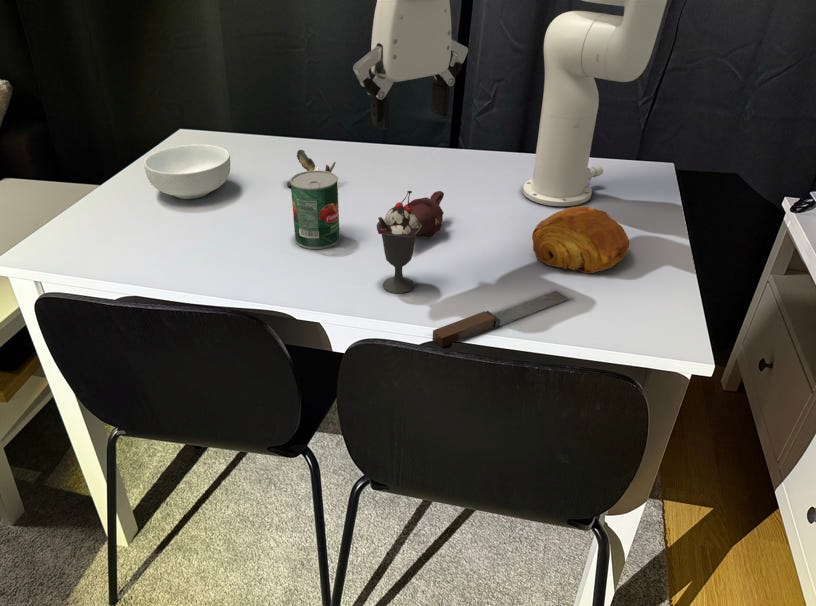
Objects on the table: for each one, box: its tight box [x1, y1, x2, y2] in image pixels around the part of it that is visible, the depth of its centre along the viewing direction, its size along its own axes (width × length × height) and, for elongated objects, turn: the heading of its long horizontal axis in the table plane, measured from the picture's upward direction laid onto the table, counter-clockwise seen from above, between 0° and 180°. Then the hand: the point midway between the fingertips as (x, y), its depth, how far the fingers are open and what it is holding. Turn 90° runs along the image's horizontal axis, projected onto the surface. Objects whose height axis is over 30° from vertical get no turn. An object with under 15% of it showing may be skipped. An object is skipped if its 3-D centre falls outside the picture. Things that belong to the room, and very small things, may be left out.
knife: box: [432, 290, 569, 348], centre depth 101 cm, size 23×3×2 cm, turn 120°
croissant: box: [531, 205, 630, 274], centre depth 114 cm, size 14×16×8 cm
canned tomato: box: [289, 169, 341, 250], centre depth 121 cm, size 8×8×11 cm
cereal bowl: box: [143, 143, 231, 200], centre depth 141 cm, size 17×17×7 cm
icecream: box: [403, 190, 445, 239], centre depth 122 cm, size 7×7×15 cm
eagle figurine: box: [286, 149, 336, 187], centre depth 142 cm, size 8×7×9 cm
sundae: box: [376, 190, 422, 294], centre depth 106 cm, size 7×7×15 cm
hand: (410, 120), depth 98 cm, fingers open, 9 cm apart
